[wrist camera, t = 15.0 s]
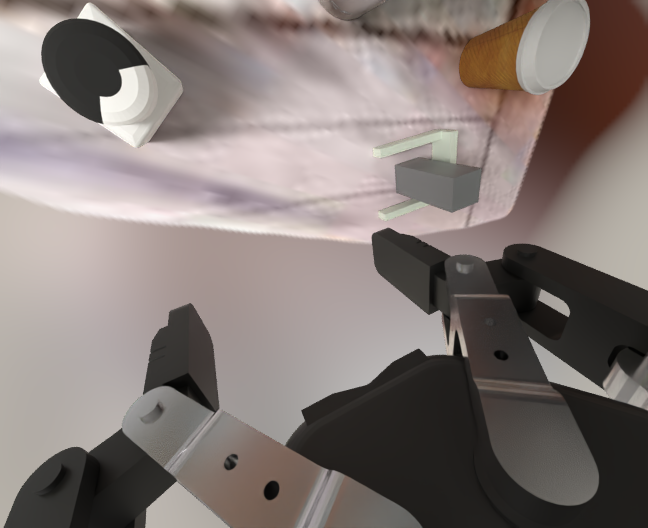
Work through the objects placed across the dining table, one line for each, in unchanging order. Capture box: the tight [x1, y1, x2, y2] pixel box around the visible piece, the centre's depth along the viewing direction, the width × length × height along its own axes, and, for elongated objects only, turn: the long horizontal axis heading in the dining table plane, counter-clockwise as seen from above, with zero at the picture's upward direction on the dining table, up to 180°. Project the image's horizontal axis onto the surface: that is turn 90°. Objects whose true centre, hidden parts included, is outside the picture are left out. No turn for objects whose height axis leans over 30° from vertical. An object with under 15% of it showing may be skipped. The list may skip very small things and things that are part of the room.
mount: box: [373, 129, 458, 221], centre depth 44 cm, size 12×11×4 cm
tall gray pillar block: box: [395, 157, 482, 213], centre depth 41 cm, size 5×4×12 cm
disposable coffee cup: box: [459, 0, 590, 95], centre depth 37 cm, size 10×10×12 cm
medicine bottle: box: [40, 3, 183, 148], centre depth 23 cm, size 7×7×12 cm
